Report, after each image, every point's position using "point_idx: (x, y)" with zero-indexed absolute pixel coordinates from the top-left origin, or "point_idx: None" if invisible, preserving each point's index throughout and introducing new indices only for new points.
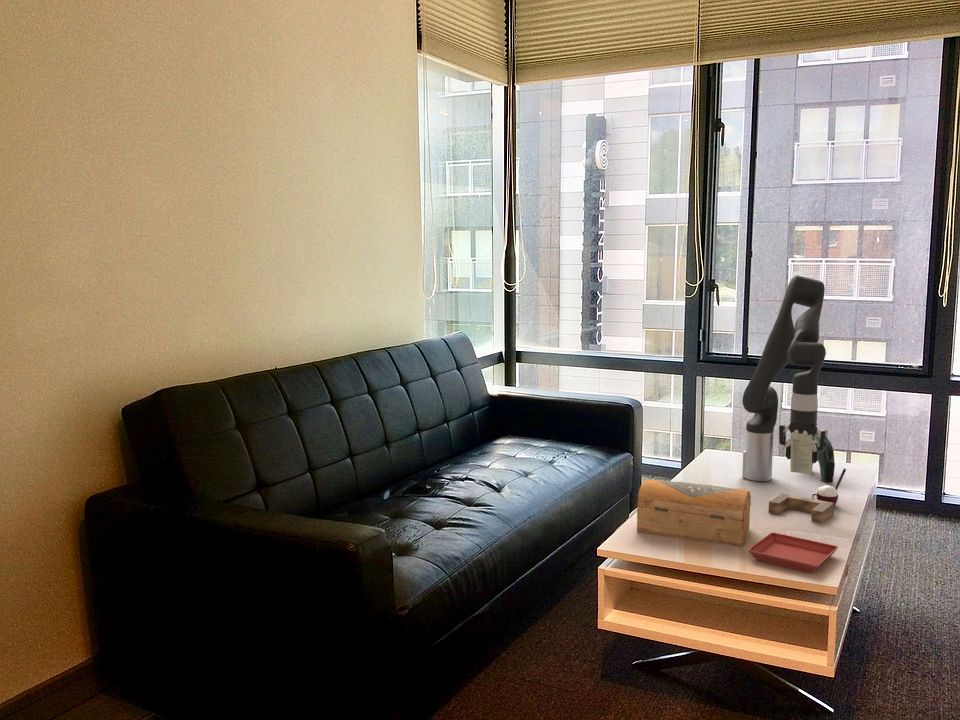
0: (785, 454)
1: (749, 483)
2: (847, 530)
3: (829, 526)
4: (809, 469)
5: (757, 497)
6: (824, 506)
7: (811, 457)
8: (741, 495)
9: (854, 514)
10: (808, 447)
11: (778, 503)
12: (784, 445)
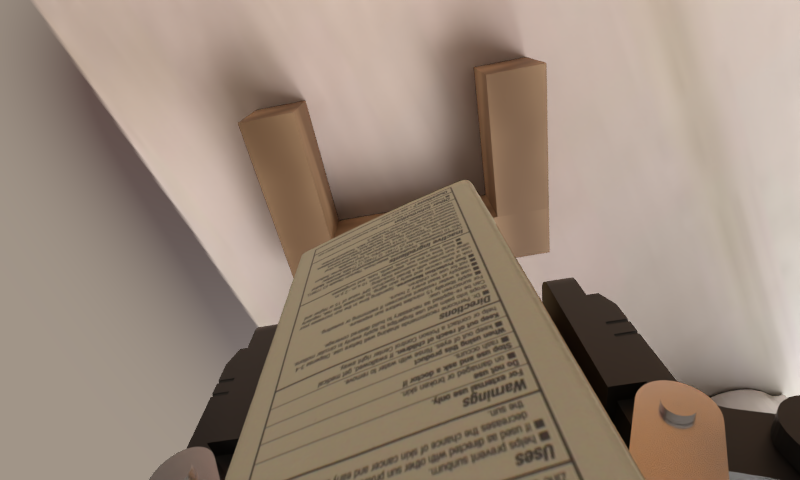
0: (617, 312)
1: (739, 358)
2: (118, 104)
3: (203, 92)
4: (311, 266)
5: (655, 229)
6: (289, 214)
7: (267, 360)
8: None
9: (254, 314)
10: (266, 474)
11: (486, 73)
12: (721, 409)
